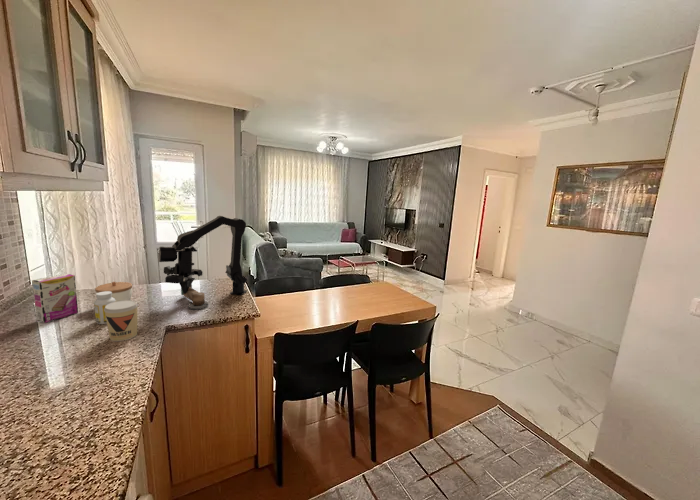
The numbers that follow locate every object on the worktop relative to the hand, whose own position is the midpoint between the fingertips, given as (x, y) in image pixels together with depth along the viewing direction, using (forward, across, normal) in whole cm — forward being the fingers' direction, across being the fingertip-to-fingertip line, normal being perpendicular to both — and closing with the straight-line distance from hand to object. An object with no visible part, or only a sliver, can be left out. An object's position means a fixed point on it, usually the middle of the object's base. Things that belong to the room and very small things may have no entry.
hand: (184, 293), depth 135 cm
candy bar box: (+7, +25, -36) cm, 44 cm away
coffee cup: (+7, +33, 0) cm, 34 cm away
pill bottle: (+6, +24, -16) cm, 30 cm away
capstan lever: (+3, -1, +3) cm, 4 cm away
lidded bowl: (+6, +10, -26) cm, 28 cm away
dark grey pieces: (+4, -3, +3) cm, 6 cm away
